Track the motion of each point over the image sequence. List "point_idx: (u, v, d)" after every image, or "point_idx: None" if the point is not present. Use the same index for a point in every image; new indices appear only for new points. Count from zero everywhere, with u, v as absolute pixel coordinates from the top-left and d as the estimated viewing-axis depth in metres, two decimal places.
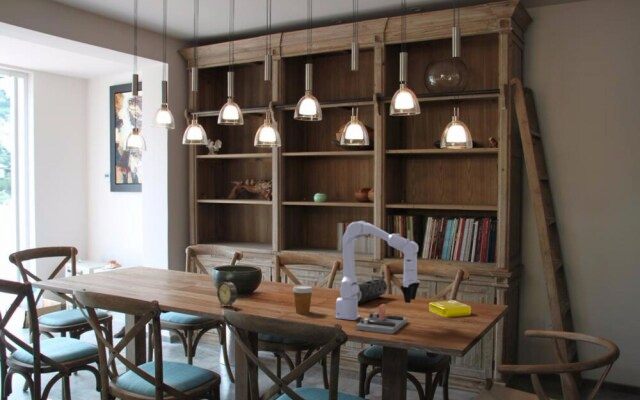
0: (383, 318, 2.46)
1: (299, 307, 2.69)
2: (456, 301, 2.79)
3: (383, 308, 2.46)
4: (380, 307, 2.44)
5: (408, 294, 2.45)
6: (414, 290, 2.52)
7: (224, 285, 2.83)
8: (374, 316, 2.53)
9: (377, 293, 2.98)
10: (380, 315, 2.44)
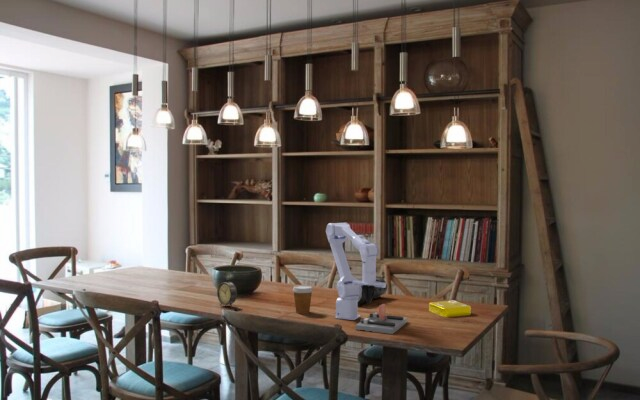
0: (383, 318, 2.46)
1: (299, 307, 2.69)
2: (456, 301, 2.79)
3: (383, 308, 2.46)
4: (380, 307, 2.44)
5: None
6: None
7: (224, 285, 2.83)
8: (374, 316, 2.53)
9: (377, 293, 2.98)
10: (380, 315, 2.44)
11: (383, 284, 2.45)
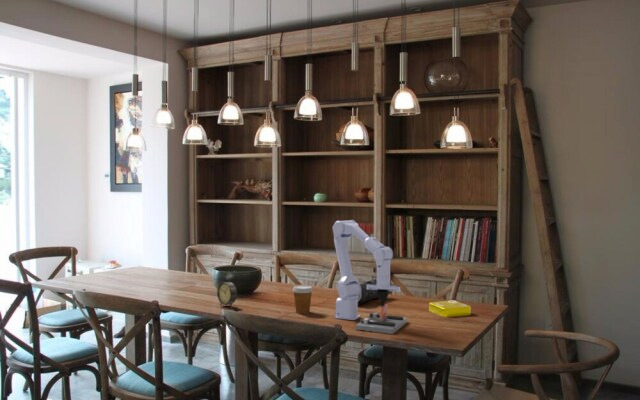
0: (383, 318, 2.46)
1: (299, 307, 2.69)
2: (456, 301, 2.79)
3: (385, 309, 2.46)
4: (383, 308, 2.43)
5: None
6: None
7: (224, 285, 2.83)
8: (374, 316, 2.53)
9: None
10: (381, 315, 2.44)
11: (398, 288, 2.42)
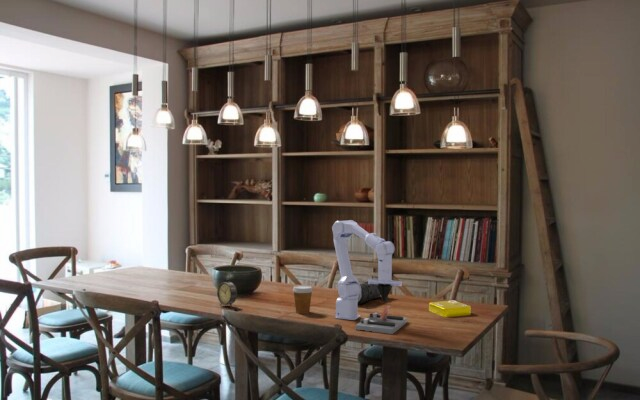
0: (383, 319, 2.46)
1: (299, 307, 2.69)
2: (456, 301, 2.79)
3: (387, 310, 2.45)
4: (385, 309, 2.43)
5: None
6: None
7: (224, 285, 2.83)
8: (374, 316, 2.53)
9: (377, 293, 2.98)
10: (382, 316, 2.44)
11: (399, 283, 2.42)
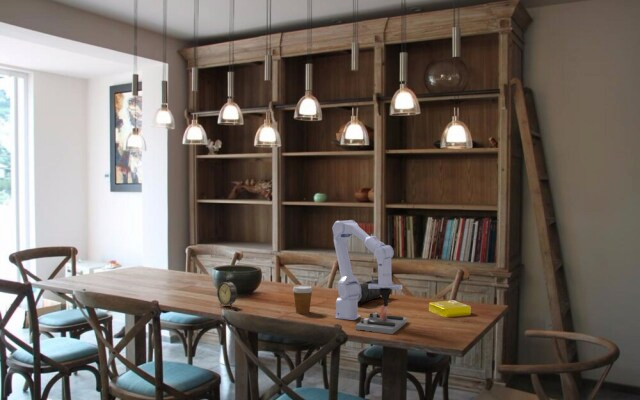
0: (383, 318, 2.46)
1: (299, 307, 2.69)
2: (456, 301, 2.79)
3: (385, 309, 2.46)
4: (383, 308, 2.43)
5: None
6: None
7: (224, 285, 2.83)
8: (374, 316, 2.53)
9: (377, 293, 2.98)
10: (381, 315, 2.44)
11: (400, 286, 2.42)
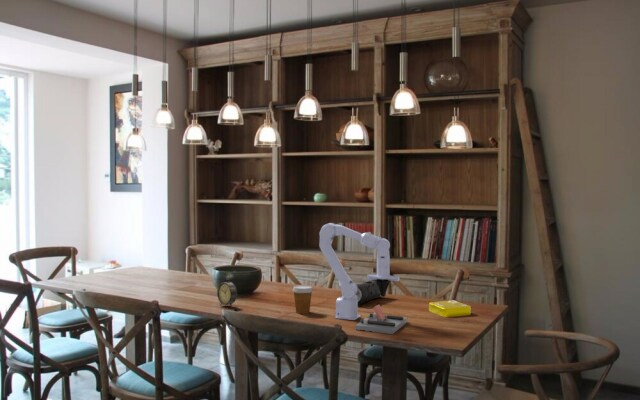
0: (383, 317, 2.46)
1: (299, 307, 2.69)
2: (456, 301, 2.79)
3: (378, 308, 2.47)
4: (374, 308, 2.45)
5: None
6: None
7: (224, 285, 2.83)
8: (374, 316, 2.53)
9: (377, 293, 2.98)
10: (378, 315, 2.44)
11: (397, 278, 2.54)
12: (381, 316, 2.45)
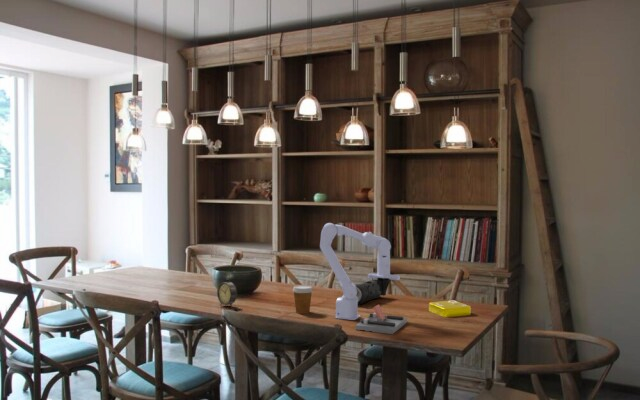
0: (383, 317, 2.46)
1: (299, 307, 2.69)
2: (456, 301, 2.79)
3: (378, 308, 2.47)
4: (374, 308, 2.45)
5: None
6: None
7: (224, 285, 2.83)
8: (374, 316, 2.53)
9: (377, 293, 2.98)
10: (378, 315, 2.44)
11: (397, 277, 2.57)
12: (381, 316, 2.45)
